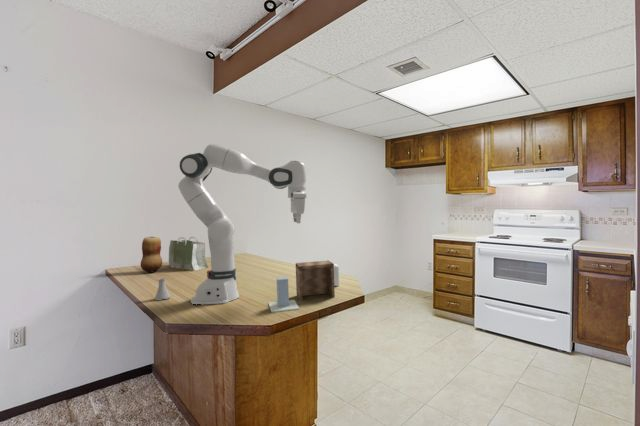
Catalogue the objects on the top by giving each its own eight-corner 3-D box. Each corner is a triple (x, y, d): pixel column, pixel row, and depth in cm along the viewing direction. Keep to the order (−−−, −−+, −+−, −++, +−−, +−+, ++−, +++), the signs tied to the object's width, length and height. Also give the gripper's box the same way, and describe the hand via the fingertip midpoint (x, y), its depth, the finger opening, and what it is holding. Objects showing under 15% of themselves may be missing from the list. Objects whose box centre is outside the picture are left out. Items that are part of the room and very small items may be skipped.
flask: (154, 302, 153) (153, 281, 152) (154, 298, 159) (153, 278, 159) (171, 299, 156) (170, 279, 156) (170, 295, 163) (169, 276, 162)
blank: (278, 307, 138) (277, 279, 137) (277, 303, 142) (276, 277, 142) (288, 305, 139) (288, 278, 138) (287, 302, 143) (286, 276, 143)
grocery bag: (209, 267, 233) (208, 236, 232) (192, 271, 222) (191, 238, 221) (184, 263, 251) (183, 234, 250) (167, 267, 240) (166, 236, 239)
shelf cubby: (300, 300, 147) (298, 266, 147) (296, 295, 156) (295, 263, 155) (334, 297, 152) (333, 263, 151) (329, 292, 160) (328, 260, 160)
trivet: (271, 312, 133) (271, 311, 133) (268, 303, 144) (268, 302, 144) (299, 309, 136) (299, 307, 136) (294, 301, 147) (294, 299, 147)
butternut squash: (156, 274, 216) (154, 237, 215) (137, 274, 216) (135, 238, 215) (166, 269, 230) (164, 235, 229) (148, 270, 230) (146, 236, 229)
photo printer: (337, 284, 175) (337, 262, 174) (340, 286, 171) (339, 263, 170) (319, 285, 173) (319, 263, 172) (321, 287, 168) (320, 264, 168)
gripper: (287, 194, 164) (287, 221, 164) (293, 193, 144) (293, 224, 145) (299, 194, 165) (299, 221, 166) (307, 194, 145) (306, 224, 146)
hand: (296, 222), depth 155 cm, fingers open, 8 cm apart
